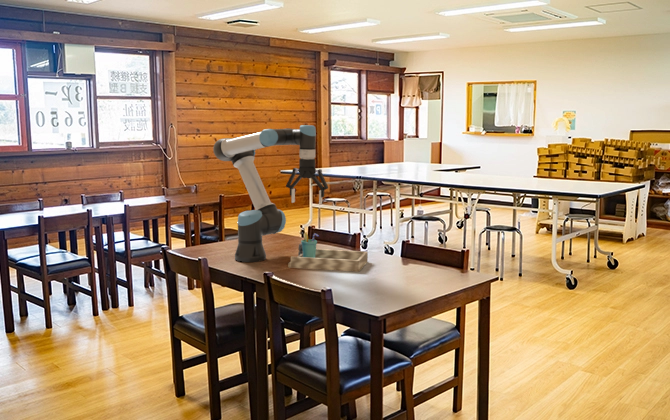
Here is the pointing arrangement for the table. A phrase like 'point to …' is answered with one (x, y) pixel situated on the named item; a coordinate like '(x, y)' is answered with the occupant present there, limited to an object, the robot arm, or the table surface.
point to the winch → (300, 249)
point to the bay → (331, 260)
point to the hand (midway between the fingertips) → (306, 203)
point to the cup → (309, 246)
